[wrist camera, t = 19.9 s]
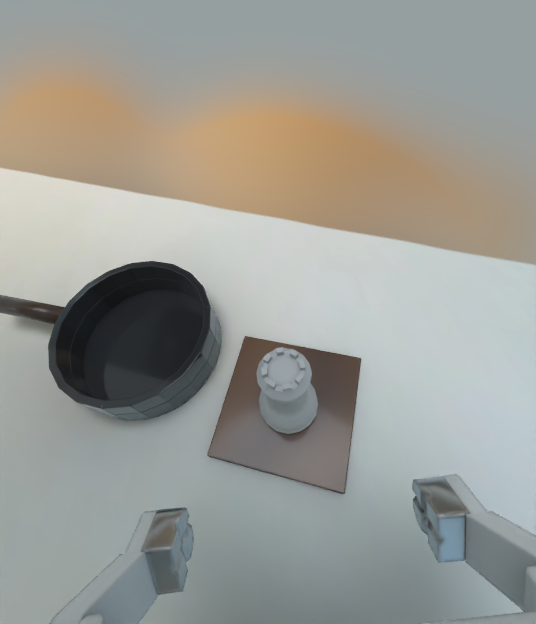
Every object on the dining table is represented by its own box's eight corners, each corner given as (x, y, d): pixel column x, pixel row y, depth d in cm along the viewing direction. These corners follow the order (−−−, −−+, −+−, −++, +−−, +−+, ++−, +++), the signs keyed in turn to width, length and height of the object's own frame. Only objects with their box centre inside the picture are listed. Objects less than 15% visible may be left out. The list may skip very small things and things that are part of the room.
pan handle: (-6, 314, 31) (-20, 305, 29) (5, 299, 31) (-9, 290, 30) (73, 330, 29) (62, 321, 27) (82, 315, 30) (72, 305, 28)
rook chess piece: (288, 448, 24) (281, 425, 17) (248, 404, 26) (228, 367, 19) (330, 405, 25) (339, 367, 18) (289, 366, 27) (283, 318, 20)
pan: (49, 400, 28) (14, 385, 25) (120, 278, 34) (99, 252, 31) (190, 438, 25) (172, 427, 22) (239, 297, 32) (231, 272, 28)
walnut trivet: (209, 456, 25) (206, 455, 24) (246, 338, 29) (245, 335, 29) (343, 493, 23) (344, 493, 22) (360, 360, 27) (361, 357, 27)
